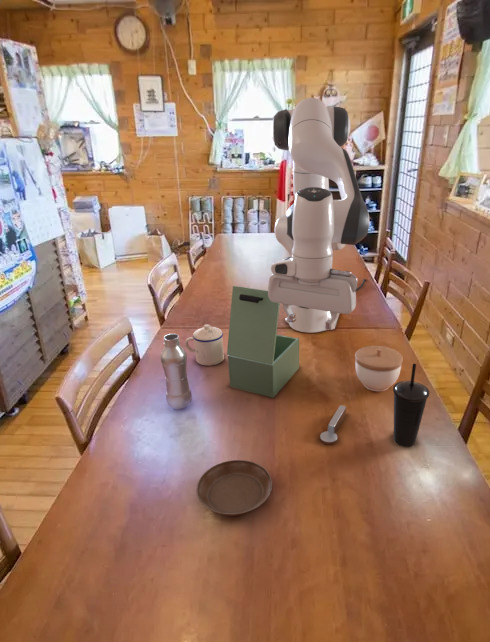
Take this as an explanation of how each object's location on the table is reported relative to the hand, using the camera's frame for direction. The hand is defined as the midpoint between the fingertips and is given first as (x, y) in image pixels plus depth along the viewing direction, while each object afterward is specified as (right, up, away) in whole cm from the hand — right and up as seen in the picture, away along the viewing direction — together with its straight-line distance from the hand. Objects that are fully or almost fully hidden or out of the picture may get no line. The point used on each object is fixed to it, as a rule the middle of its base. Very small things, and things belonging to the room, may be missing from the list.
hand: (310, 324), depth 105 cm
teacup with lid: (-30, -10, +37) cm, 49 cm away
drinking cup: (+22, -27, 0) cm, 35 cm away
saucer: (-16, -34, -14) cm, 40 cm away
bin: (-11, -15, +27) cm, 32 cm away
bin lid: (-14, 0, +14) cm, 19 cm away
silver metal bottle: (-33, -21, +14) cm, 42 cm away
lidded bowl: (+20, -16, +22) cm, 34 cm away
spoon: (+6, -25, +4) cm, 26 cm away
